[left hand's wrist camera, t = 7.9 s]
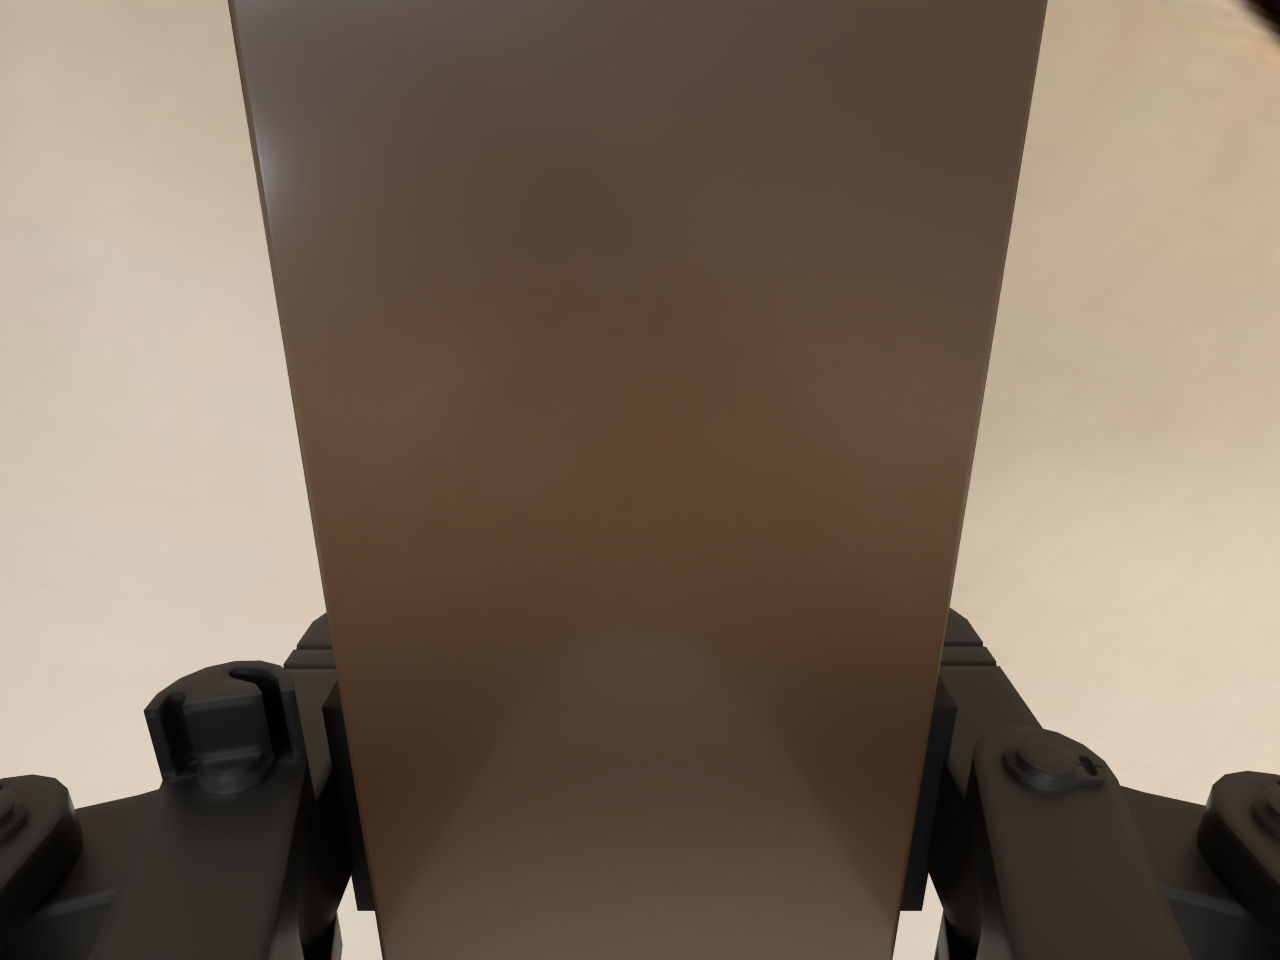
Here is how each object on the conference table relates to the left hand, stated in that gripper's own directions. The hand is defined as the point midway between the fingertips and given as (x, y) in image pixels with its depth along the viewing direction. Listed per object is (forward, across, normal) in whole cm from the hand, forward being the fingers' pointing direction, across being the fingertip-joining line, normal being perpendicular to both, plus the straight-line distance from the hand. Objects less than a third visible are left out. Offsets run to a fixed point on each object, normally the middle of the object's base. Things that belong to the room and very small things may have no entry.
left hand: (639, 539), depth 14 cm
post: (+1, 0, -34) cm, 35 cm away
